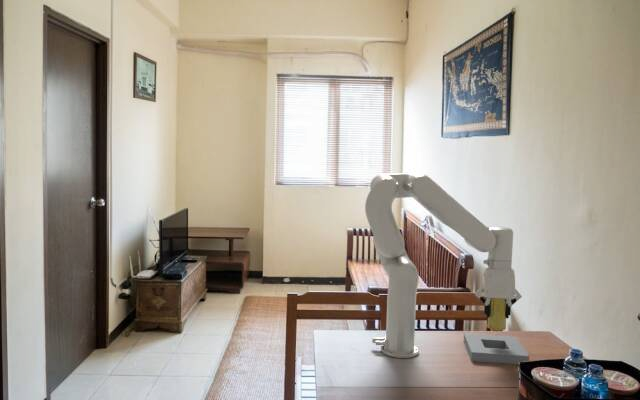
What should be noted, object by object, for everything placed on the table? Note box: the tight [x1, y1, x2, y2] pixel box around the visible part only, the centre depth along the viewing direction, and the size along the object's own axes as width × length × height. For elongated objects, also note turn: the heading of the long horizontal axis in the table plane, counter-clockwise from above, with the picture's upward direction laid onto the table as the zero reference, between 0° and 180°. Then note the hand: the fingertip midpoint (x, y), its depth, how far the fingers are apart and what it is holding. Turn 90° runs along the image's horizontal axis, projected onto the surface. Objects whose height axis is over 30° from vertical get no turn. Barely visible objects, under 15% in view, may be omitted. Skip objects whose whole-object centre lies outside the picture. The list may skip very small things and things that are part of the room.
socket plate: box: [463, 333, 530, 365], centre depth 187 cm, size 18×18×3 cm
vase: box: [486, 298, 507, 332], centre depth 185 cm, size 6×6×14 cm
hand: (496, 316), depth 186 cm, fingers closed on vase, 5 cm apart
